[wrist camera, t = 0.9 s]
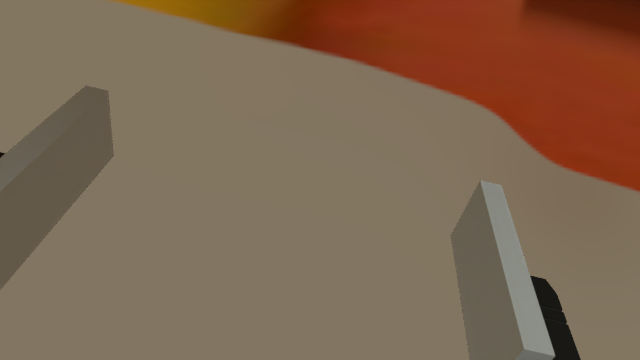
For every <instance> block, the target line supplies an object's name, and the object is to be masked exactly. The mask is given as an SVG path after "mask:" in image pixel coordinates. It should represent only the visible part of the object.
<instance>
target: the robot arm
mask: <svg viewBox="0 0 640 360" xmlns="http://www.w3.org/2000/svg"><path fill="white" fill-rule="evenodd" d="M111 132H112V131H111V119H110V107H109V95H108V91H106V90H102V89H98V88H94V87H90V86H85V87H84V88H82V89H81V90H80V91H79V92H78V93H76V94H75V95H74V96H73V97H72V98H71V99H69V100H68V101H67V102H66V103H65V104H64V105H62V106H61V107H60V108H59V109H58V110H57V111H55V112H54V113H53V114H52V115H50V116H49V117H48V118H47V119H46V120H44V121H43V122H42V123H41V124H40V125H39V126H37V127H36V128H35V129H34V130H33V131H32V132H31V133H29V134H28V135H27V136H25V137H24V138H23V139H22V140H21V141H20V142H18V143H17V144H16V145H15V146H14V147H13V148H11V149H10V150H9V151H8V152H7V153H1V152H0V290H1V289H2V287H3V286H4V285H5V284H6V283H7V282H8V280H9V279H10V278H11V277H12V276H13V274H14V273H15V272H16V271H17V270H18V269H19V267H20V266H21V265H22V264H23V263H24V261H25V260H26V259H27V258H28V257H29V256H30V254H31V253H32V252H33V251H34V250H35V248H36V247H37V246H38V245H39V244H40V242H41V241H42V240H43V239H44V238H45V236H46V235H47V234H48V233H49V232H50V231H51V229H52V228H53V227H54V226H55V225H56V224H57V222H58V221H59V220H60V219H61V217H62V216H63V215H64V214H65V213H66V211H67V210H68V209H69V208H70V207H71V206H72V204H73V203H74V202H75V201H76V200H77V199H78V197H79V196H80V195H81V194H82V193H83V192H84V190H85V189H86V188H87V187H88V186H89V184H90V183H91V182H92V181H93V180H94V178H95V177H96V176H97V175H98V174H99V173H100V171H101V170H102V169H103V168H104V166H105V165H106V164H107V163H108V162H109V161H110V159H111V158H112V157H113V156H114V155H113V143H112V133H111ZM451 241H452V247H453V253H454V260H455V267H456V273H457V280H458V286H459V293H460V300H461V306H462V313H463V319H464V325H465V331H466V339H467V345H468V352H469V358H470V360H581V359H580V357H579V354H578V351H577V348H576V346H575V343H574V340H573V337H572V335H571V332H570V329H569V326H568V325H566V323H567V321H566V318H565V315H564V313H563V312H562V307H561V304H560V301H559V299H558V296H557V294H556V292H555V291H554V290H553V288H552V287H551V286H550V285H549V283H548V282H547V281H546V279H543V278H538V277H534V276H530V274H529V271H528V268H527V265H526V262H525V259H524V255H523V252H522V249H521V246H520V243H519V240H518V237H517V233H516V230H515V227H514V224H513V221H512V218H511V214H510V211H509V208H508V205H507V202H506V199H505V196H504V192H503V189H502V186H501V185H498V184H494V183H489V182H485V181H481V180H480V182H479V184H478V185H477V187H476V189H475V191H474V193H473V195H472V197H471V199H470V201H469V202H468V204H467V206H466V208H465V210H464V212H463V214H462V215H461V217H460V219H459V221H458V223H457V225H456V227H455V228H454V231H453V232H452V234H451Z"/></svg>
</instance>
